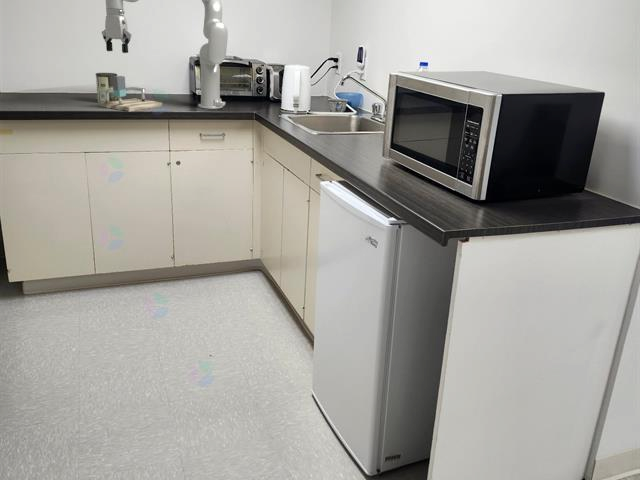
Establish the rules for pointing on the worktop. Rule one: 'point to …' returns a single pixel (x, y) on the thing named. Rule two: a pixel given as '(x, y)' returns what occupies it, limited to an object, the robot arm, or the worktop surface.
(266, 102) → the worktop surface
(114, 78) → the block
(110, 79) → the coffee can
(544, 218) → the worktop surface
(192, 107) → the worktop surface
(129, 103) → the hole plate
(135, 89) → the divider frame
